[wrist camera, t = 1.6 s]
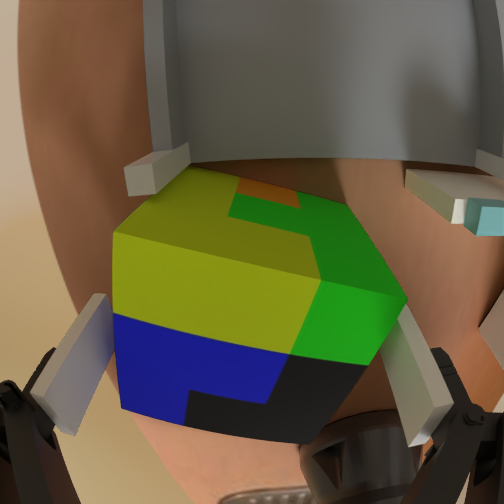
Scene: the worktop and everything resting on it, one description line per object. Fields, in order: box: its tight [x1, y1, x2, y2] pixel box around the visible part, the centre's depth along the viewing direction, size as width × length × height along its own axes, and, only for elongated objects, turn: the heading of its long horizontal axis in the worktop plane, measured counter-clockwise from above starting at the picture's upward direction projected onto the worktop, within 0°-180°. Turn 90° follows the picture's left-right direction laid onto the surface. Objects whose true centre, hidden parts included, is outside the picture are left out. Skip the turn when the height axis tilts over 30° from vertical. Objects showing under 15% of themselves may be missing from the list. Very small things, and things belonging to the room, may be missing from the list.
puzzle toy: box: [112, 166, 408, 445], centre depth 16 cm, size 10×10×10 cm
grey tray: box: [124, 0, 504, 197], centre depth 11 cm, size 16×20×7 cm
